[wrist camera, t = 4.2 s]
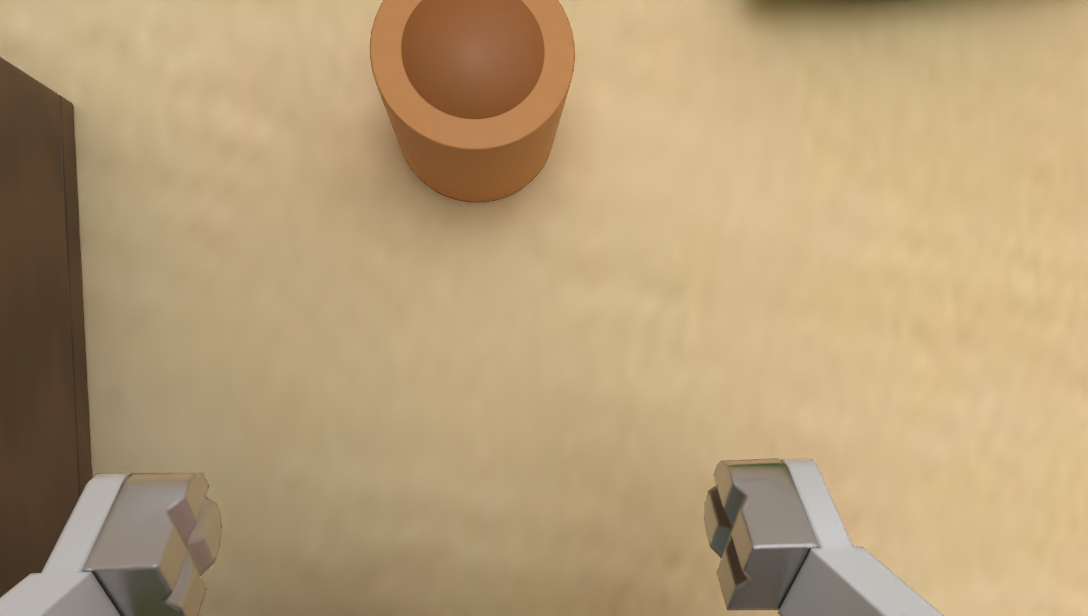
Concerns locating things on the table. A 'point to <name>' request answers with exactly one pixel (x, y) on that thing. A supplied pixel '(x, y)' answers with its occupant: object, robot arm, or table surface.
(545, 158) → the terracotta hollow cylinder
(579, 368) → the table surface
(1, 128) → the cabinet
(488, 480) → the table surface
